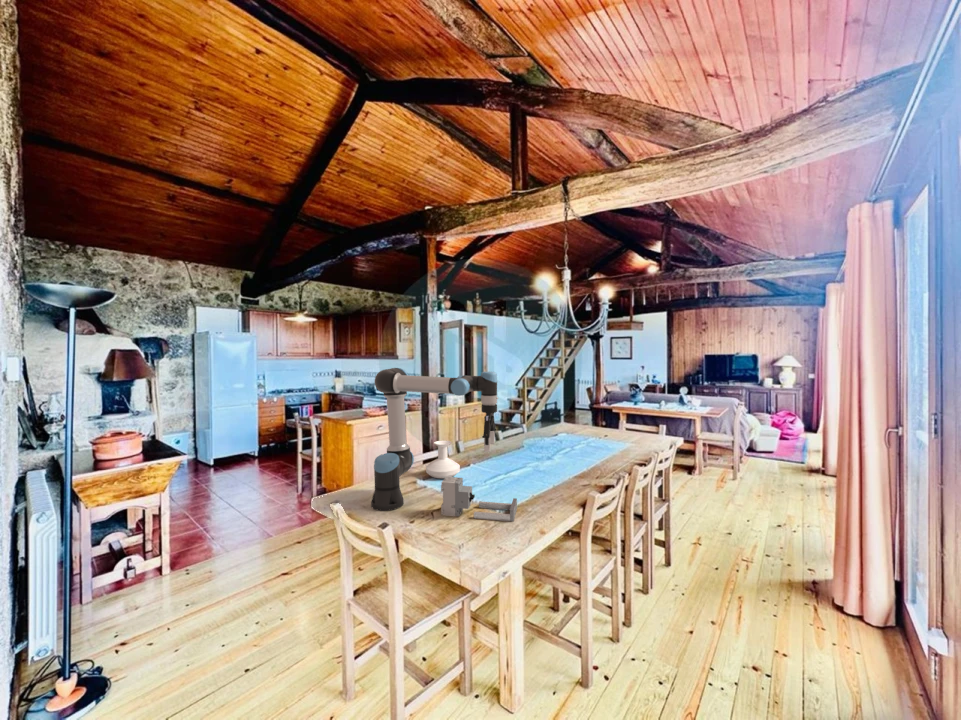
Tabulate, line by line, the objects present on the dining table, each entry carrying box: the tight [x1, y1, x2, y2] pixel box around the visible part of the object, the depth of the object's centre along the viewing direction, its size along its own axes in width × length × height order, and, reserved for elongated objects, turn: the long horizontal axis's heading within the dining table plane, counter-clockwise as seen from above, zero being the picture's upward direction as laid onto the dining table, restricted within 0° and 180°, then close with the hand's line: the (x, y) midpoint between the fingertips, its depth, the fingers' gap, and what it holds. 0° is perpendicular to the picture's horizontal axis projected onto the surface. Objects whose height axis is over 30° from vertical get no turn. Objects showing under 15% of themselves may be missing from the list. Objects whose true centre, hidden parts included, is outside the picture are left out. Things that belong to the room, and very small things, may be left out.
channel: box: [473, 497, 518, 522], centre depth 184 cm, size 18×13×5 cm
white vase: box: [425, 439, 461, 479], centre depth 237 cm, size 20×20×19 cm
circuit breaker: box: [440, 476, 476, 517], centre depth 185 cm, size 8×14×15 cm, turn 78°
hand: (489, 447), depth 196 cm, fingers open, 13 cm apart
